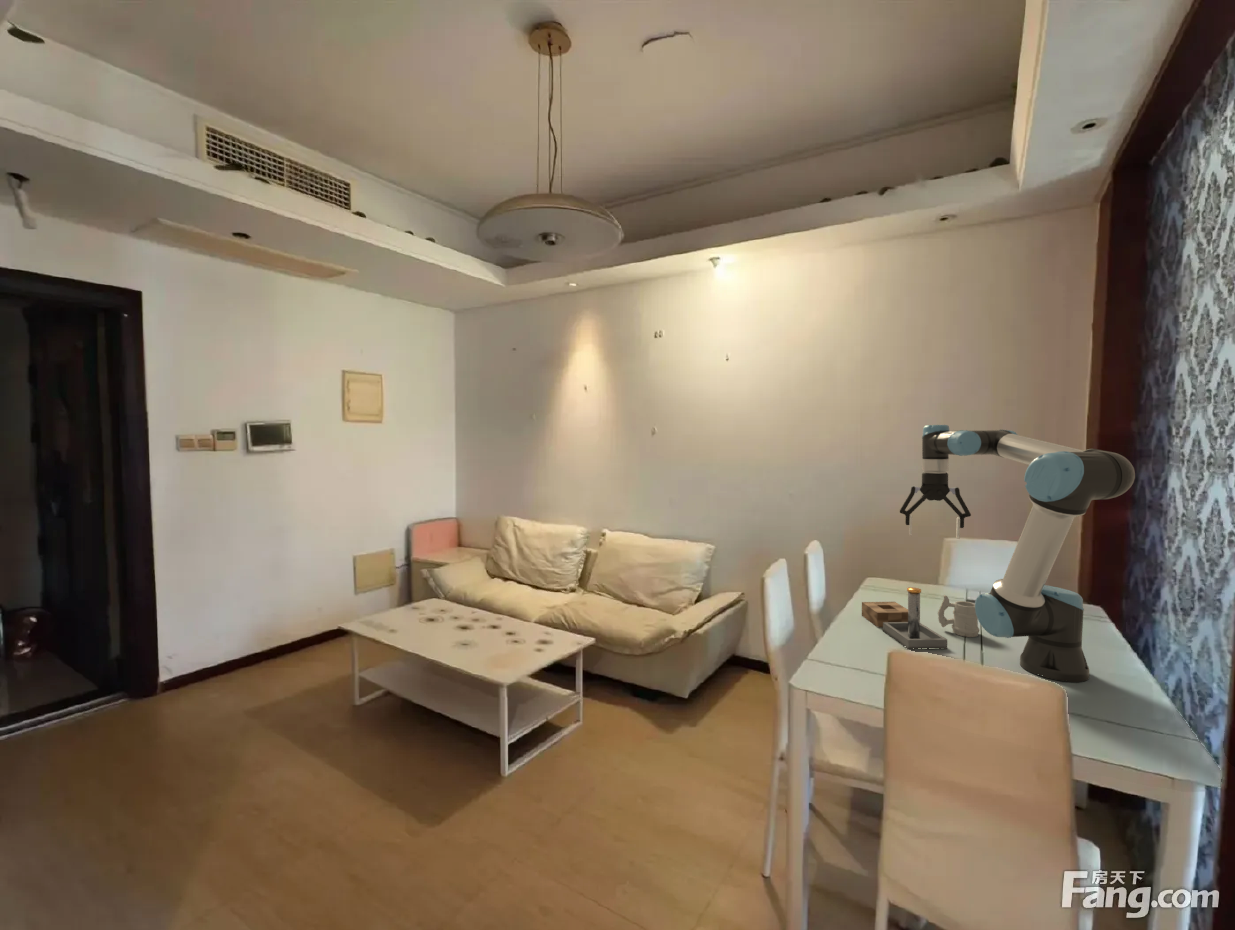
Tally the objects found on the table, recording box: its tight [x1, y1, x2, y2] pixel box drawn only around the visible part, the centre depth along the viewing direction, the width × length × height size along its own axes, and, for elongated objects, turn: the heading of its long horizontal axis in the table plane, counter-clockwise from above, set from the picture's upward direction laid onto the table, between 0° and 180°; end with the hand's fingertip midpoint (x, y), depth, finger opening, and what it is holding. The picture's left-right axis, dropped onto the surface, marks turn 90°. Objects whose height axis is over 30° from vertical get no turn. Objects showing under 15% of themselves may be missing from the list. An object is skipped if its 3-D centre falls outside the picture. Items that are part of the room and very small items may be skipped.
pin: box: [906, 586, 922, 639], centre depth 178 cm, size 4×4×16 cm
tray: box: [882, 622, 948, 651], centre depth 178 cm, size 16×12×3 cm
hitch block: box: [861, 601, 908, 628], centre depth 196 cm, size 12×12×5 cm
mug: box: [937, 594, 980, 638], centre depth 184 cm, size 8×12×12 cm, turn 62°
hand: (933, 536), depth 183 cm, fingers open, 13 cm apart
